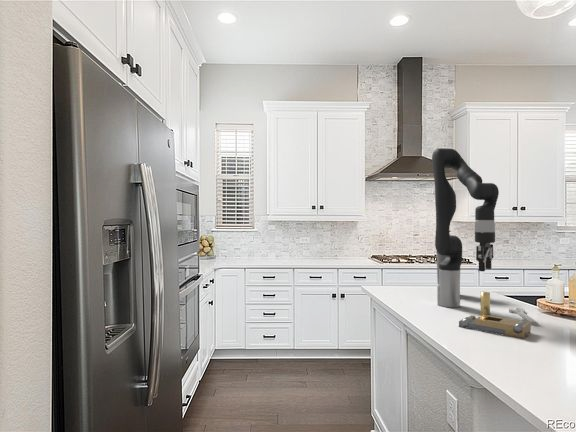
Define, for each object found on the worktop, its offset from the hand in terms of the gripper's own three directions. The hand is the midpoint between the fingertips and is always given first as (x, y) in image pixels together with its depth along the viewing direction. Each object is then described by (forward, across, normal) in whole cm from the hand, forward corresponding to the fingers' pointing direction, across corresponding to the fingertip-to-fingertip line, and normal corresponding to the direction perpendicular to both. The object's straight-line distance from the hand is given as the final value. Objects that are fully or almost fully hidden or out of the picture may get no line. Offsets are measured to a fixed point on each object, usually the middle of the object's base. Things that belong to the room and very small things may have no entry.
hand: (485, 270), depth 157 cm
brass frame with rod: (+20, +14, +7) cm, 26 cm away
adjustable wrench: (+21, -14, +10) cm, 27 cm away
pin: (+20, 0, 0) cm, 20 cm away
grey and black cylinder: (+20, -39, -30) cm, 53 cm away
